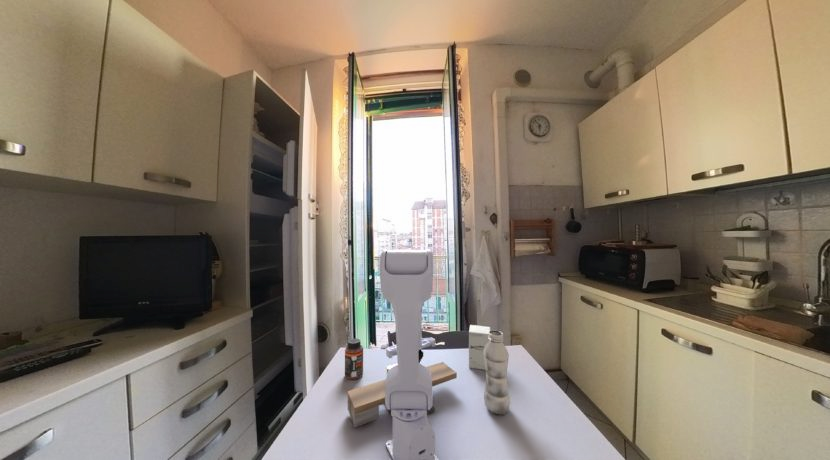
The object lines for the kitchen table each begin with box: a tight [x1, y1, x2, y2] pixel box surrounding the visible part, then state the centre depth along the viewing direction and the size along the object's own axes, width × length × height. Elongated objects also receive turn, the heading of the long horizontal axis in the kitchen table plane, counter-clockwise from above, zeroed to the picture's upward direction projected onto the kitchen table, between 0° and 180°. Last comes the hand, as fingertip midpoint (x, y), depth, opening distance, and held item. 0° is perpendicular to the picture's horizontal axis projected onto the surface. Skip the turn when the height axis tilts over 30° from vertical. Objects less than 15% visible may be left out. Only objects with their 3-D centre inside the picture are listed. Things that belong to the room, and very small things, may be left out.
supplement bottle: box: [344, 338, 364, 381], centre depth 81 cm, size 6×6×11 cm
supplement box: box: [468, 324, 491, 371], centre depth 87 cm, size 7×7×13 cm
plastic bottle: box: [483, 329, 511, 415], centre depth 65 cm, size 6×7×20 cm
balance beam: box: [347, 361, 458, 428], centre depth 68 cm, size 7×30×4 cm, turn 119°
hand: (411, 376), depth 69 cm, fingers closed
